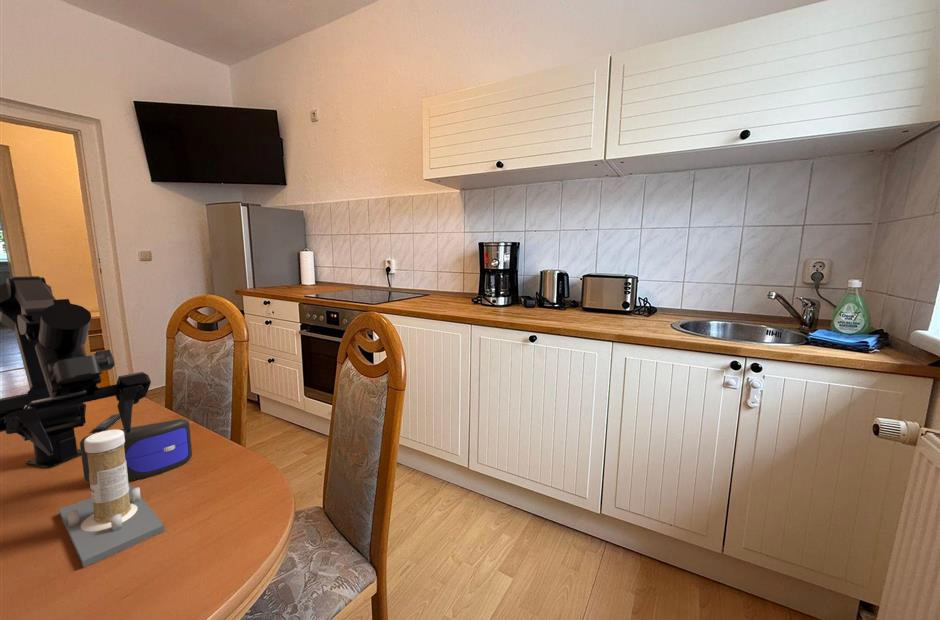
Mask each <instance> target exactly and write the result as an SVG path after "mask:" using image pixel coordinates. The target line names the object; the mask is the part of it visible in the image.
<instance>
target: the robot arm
mask: <svg viewBox="0 0 940 620" xmlns="http://www.w3.org/2000/svg"><path fill="white" fill-rule="evenodd" d="M0 323H1V324H2V325H3V326H5V327H8V328H9V329H11V330H12V331H14V335H15V337H16V340H17V345H18V348H19V353H20V357H21V360H22V365H23V367H24V371H25V375H26V379H27V382H28V387H29V390H28V391H27V392H26V393H23V394H18V395H12V396H6V397H2V398H0V433H1V432H5V434H7V435H11V434H12V435H13V434H17V435H19V436H21V438H22V439H23V440H24V441H25V442H26V441H30V442H31V443H32V444H33V453H34V458H33V459H29V460H27V461H25V465H27V466H34V467H39V468H45V469H49V468H53V467H56V466H57V465H61V464H63V463H65V462H67V461H70V460H71V459H74V458H77V457H80V456H81V449H79V448H78V446H77V445H78V444H77V438H76V434H75V429H77V428H81V427H84V426H85V424H86V423H87V422H86V413H87V412H86V411H87V404H86V403H87V402H93V401H97V400H103V399H106V398H112V397H115V399H116V401H117V402H118V403H117V406H116V407H117V409H118V410H117V411H118V414H120V417H121V419H120V420H121V424H122V427H123V428H122V429H124V430H125V432H126V433H130V429H131V428H132V415H133V406H134V405H137V404H138V403H139V401H140V400H142V399H143V398H145V397H147V394H148V393H149V392H148V391H149V388H150V386H151V384H152V381H151V379H150V375H149V374H148V373H145V372H143V371H139V372H134V373H129V374H123V375H118V378H117V381H116V383H115V384H112V385H107V386H102V387H99V384H101V383H102V378H101V375H102V374H103V373H102V372H103V371H109V370H112V368H114V367H115V360H114V357H113V354H112V352H111V349H105V350H97V351H95V352H94V354H91V355H87V353H86V350H85V347H84V345H85V343H86V342H87V339H88V334H89V331H90V325H91V324H92V314H91V312H90V311H89V310H88V309H87V308H85V307H83V306H81V305H79V304H76V303H75V304H74V303H71V301H70V299H69V298H65V299H64V298H63V299H61V298H60V299H57V298H56V297H55V296H54V295H53V290H52V287H51V285H49V284H47V281H46V278H45V277H43V276H41V277H40V276H38V275H36V276H33V275H31V276H30V275H29V276H28V275H27V276H26V275H25V276H12V277H7V278H6V282H4V283H1V284H0Z"/></svg>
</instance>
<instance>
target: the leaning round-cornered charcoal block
mask: <svg viewBox="0 0 940 620" xmlns="http://www.w3.org/2000/svg"><path fill="white" fill-rule="evenodd" d="M119 430H122V431H123V432H124V436H125V443H124V450H125V459H126V464H127V473H128V482H133V481H137V480H141V479H145V478H149V477H152V476H156V475H159V474H162V473H163V474H164V473H165V472H167V471H168V472H169V471H170V470H174V469H176V468H178V467H181V466H183V465H184V464H186V463H188V462H189V461H190V460H191V459H192V456H193V449H192V437H191V425H190V422H189V421H188V420H187V419H183V418H179V419H178V418H177V419H174V420H167V421H160V422H154V423H149V424H144V425H138V426H133V427H132V426H131V429H130V433H126V432H125V430H124V428H121V429H119ZM93 434H94V433H93ZM93 434H89V435H87V436H85V437H84V438H82V439H81V440H80V443H79V448H80V450H81V455H80V456H81V462H82V470H83V478H84V479H83V480H85V482H87V483H88V484H90V480H89V466H88V457H87V453H86V452H85V447H84V440H85V439H86V438H87V437H89V436H91V435H93Z"/></svg>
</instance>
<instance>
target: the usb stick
mask: <svg viewBox="0 0 940 620" xmlns="http://www.w3.org/2000/svg"><path fill="white" fill-rule="evenodd" d="M120 418H121V417H120V414H119V413H116V414H112V415H110V416H109V417H107V418H106V420H104V421H103V422H101V423H100V424H99V425H97V426H96V427H94V428H93V429H92V433H93V434H96V433H95V432H102V431H105V430H106V429H107V430H109V429H110V428H111V427H112V426H113V424H114V423H115V422H116V421H117V420H119V419H120ZM120 420H121V419H120ZM120 420H119V421H120ZM117 422H118V421H117ZM117 422H116V423H117ZM116 423H115V424H116ZM115 424H114V425H115ZM111 425H112V426H111ZM110 426H111V427H110ZM109 427H110V428H109ZM108 428H109V429H108ZM107 430H106V431H107Z"/></svg>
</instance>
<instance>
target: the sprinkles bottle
mask: <svg viewBox="0 0 940 620" xmlns="http://www.w3.org/2000/svg"><path fill="white" fill-rule="evenodd" d="M90 435H91V436H89V435H88V436H89V437H87V438H86V439H85V440H84V447H85V452H86V453H87V457H88V466H89V480H90V483H89V486H90V494H91V495H90V496H91V497H90V498H92V501H93V508H94V520H95V521H96V522H101V523H102V522H108V521H111V517H112V516H113V515H116V514H121V517H122V516H124V515H125V514H127V513H128V512H129V511H130V510H131V504H130V499H129V484H130V483H129V482H130V481H128V473H127V464H126V459H125V450H124V443H125V436H124V432H123V431H122V430H120V429H107V430H106V431H102V432H99V433H93V435H92V434H90Z"/></svg>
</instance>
